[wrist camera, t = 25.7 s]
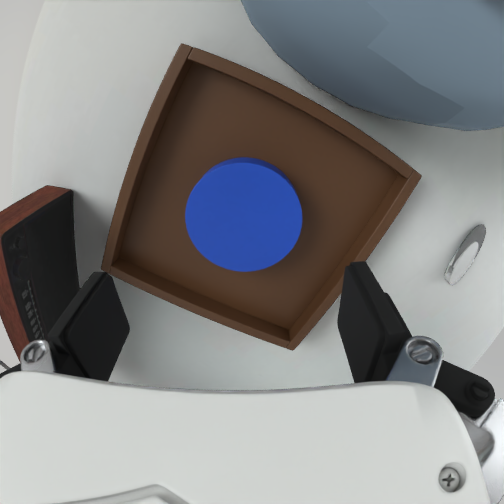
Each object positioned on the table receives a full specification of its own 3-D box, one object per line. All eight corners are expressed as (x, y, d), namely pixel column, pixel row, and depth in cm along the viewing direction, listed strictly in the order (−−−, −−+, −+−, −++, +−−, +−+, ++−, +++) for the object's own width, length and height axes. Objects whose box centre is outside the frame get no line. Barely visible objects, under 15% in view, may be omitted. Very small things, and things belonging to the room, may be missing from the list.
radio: (90, 339, 27) (33, 454, 14) (68, 330, 27) (7, 438, 13) (78, 163, 18) (-86, 264, 5) (49, 160, 18) (-104, 248, 5)
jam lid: (289, 263, 21) (291, 278, 19) (190, 252, 21) (184, 266, 19) (306, 164, 17) (311, 171, 16) (194, 152, 17) (187, 157, 16)
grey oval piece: (474, 216, 19) (482, 220, 18) (486, 230, 20) (493, 235, 19) (437, 272, 21) (443, 279, 20) (450, 284, 22) (456, 290, 21)
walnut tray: (111, 256, 22) (100, 269, 20) (189, 49, 15) (180, 42, 13) (291, 333, 25) (293, 351, 23) (408, 168, 18) (422, 176, 16)
